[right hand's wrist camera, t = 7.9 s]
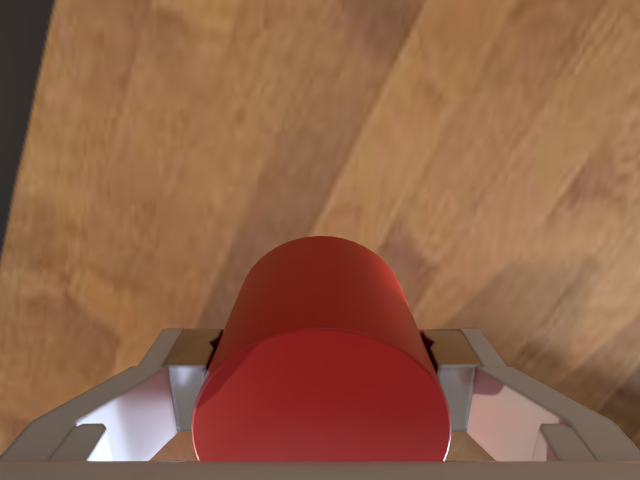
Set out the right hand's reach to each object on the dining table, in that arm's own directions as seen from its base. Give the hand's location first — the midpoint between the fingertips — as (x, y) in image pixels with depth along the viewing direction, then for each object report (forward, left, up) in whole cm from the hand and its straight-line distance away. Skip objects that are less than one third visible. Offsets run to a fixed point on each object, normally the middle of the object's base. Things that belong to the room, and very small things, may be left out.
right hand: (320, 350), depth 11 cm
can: (0, 0, -2) cm, 2 cm away
